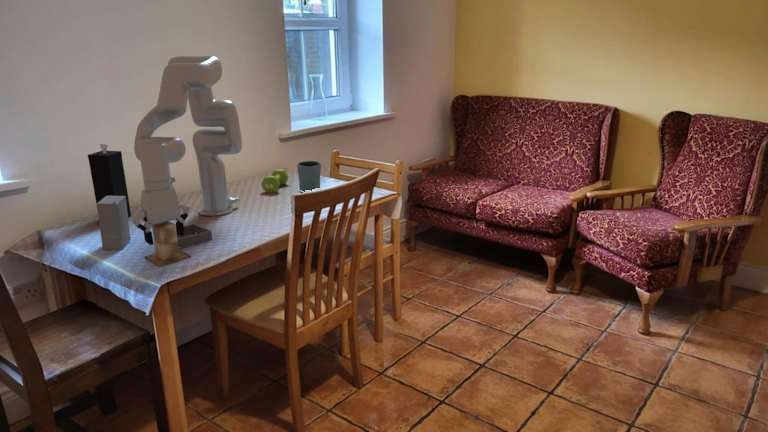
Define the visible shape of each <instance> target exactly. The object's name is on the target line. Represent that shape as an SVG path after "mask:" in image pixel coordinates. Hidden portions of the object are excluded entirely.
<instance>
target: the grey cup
mask: <svg viewBox="0 0 768 432" xmlns="http://www.w3.org/2000/svg"><path fill="white" fill-rule="evenodd" d="M296 167H297V175H298V182H299V184H298V185H299V191H300V190H302V191H304V192H305V190H311V191H312V189H315V188H320V189H321V172H322V162H320V161H315V160H304V161H299V162H297V164H296Z"/></svg>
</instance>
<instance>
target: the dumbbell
mask: <svg viewBox="0 0 768 432" xmlns="http://www.w3.org/2000/svg"><path fill="white" fill-rule="evenodd" d="M289 179H290V178H289V175H288V173H287V171H286V169H284V168H276V169H274V170H273V171H272V173H271V175H266V176H264V178H263V179H262V181H261V184H260V185H261V188H262V190H263V191H264V192H265V193H267V194H275V193H276V192H277V191H278V190H279V188H280V186H284V185H283V184H285V185H287V184H286V183H287V182H288V180H289ZM274 192H275V193H274Z"/></svg>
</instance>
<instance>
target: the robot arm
mask: <svg viewBox="0 0 768 432" xmlns="http://www.w3.org/2000/svg"><path fill="white" fill-rule="evenodd" d="M222 74H223V65H222V62H221V60H219V58H218V57H216V56H211V55H183V56H182V55H179V56H178V55H177V56H174V57H171V58H169V59H168V62H167V65H166V66H165V67H164V68H163V73H162V75H161V82H160V88H159V92H158V93H159V94H158V99H157V104H156V105H155V106H154V107H153V108H152V109H151V110H149V111H148V112H147V113H146V114H145V116H144V117H143V118H142V119H141V120H140V121H139V124H138V125H137V129H136V132H135V133H136V134H135V138H134V142H133V143H134V146H133V150H134V154H135V157H136V159H137V160H139V161H140V167H141V174H142V181H143V186H144V187H143V188H144V189H143V190H142V191H141V196H140V197H141V198H140V206H141V212H140V213H139V214H137V215H136V216H134V218H132V220H131V221H132V222H133V224H134V225H135V226H136V228H138V229H139V230H141V231H143V236H144V242H145V243H147V244H148V245H149V246H153V245H154V237H153V231H151V230H152V226H153V225H155V224H159V223H164V222H168V221H169V222H171V221H175V225H176V231H177V234H178V235H180V237H184V236H185V235H184V226H185V225H184V224H185V222H186V220H187V218H189V217H188V216H189V212H190V209H191V208H190V206H187V205H184V204H180V203H179V197H178V195H177V192H176V188H175V187H174V185H173V183H175V182H176V178H175V177H172V175H171V167H170V164H173V163H174V164H175V163H177V162H179V161H181V160H182V159H183V158H184V157H185V156H186V155H185V154H186V145H185V143H184V141H183V140H182V139H180V138H178V137H174V136H153V134H154V133H155V132H156V131H157V129H158V128H160V127H162V126H163V125H165V124H167V123H170V122H172V121H174V120H176V119H179V118H181V117H182V116H184V115H185V113H186V112H187V109H188V108H187V107H188V106H189V109H190V115H191V119H192V121H193V123H194V125H196V126H198V127H203V128H200V129H197V130H196V131H194V133H193V135H192V146H193V149H194V151H195V156H196V160H197V161H196V162H197V165H198V166H197V168H198V174H199V175H198V176H199V185H200V186H199V187H200V194H201V200H202V201H201V202H202V207H199V210H198V213H199V214H200V215H201V216H207V217H210V216H211V217H214V216H223V215H227V214H229V213H232V212H233V210H234V206H233V204H236V203H239V202H241V199H240V197H239V196H237V197H234V198H233V197H229V195H228V194H229V193H228V185H227V176H226V175H227V174H226V165H225V163H224V161H223V160H222V159H221V157H220V156H219V155H221V156H222V155H225V156H226V155H231V156H232V155H238V154H239V153H241V151H242V149H243V140H242V139H243V138H242V132H241V126H240V120H239V119H240V118H239V114H238V109H237V107H236V105H235V103H234V102H232V101H231V100H228V99H215V97H214V95H213V90H212V87H213V86H214V85H216V84H217V83H219V82H220V79H221V78H222ZM181 210H182V213H181ZM141 220H142V221H143V224H142V223H141Z"/></svg>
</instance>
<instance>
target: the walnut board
mask: <svg viewBox="0 0 768 432" xmlns="http://www.w3.org/2000/svg"><path fill="white" fill-rule="evenodd" d="M143 257H144V259H146V260H147V261H149V262H150V263H153V264H155V265H156V266H158V267H164V266H167V265H169V264H173V263H177V262H180V261H183V260H187V259H189V258H192V255H191V254H189V253H187V252H185V251H184V250H182V249H181V248H179V256H176V257H173V258H169V259H166V260H163V259H161V258H159V257H157V256H156V252H154V253H151V254H148V255H147V254H146V255H145V256H143Z"/></svg>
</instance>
